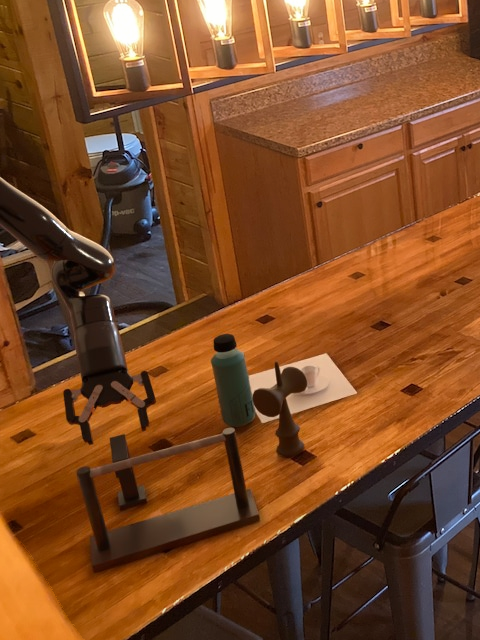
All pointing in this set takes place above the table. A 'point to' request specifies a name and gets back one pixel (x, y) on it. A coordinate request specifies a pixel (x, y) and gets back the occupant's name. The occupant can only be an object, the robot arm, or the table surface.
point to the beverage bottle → (232, 382)
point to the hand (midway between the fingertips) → (117, 436)
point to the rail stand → (170, 526)
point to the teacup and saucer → (320, 389)
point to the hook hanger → (126, 476)
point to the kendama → (282, 407)
